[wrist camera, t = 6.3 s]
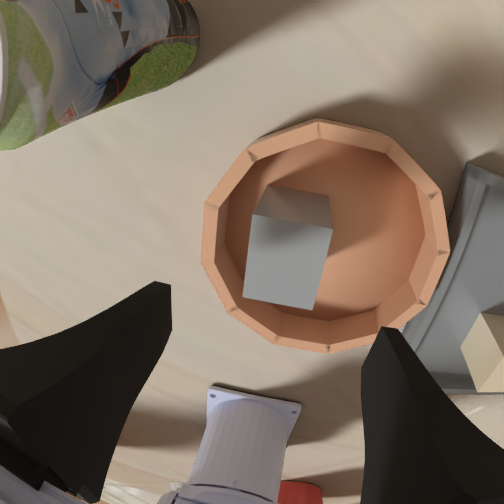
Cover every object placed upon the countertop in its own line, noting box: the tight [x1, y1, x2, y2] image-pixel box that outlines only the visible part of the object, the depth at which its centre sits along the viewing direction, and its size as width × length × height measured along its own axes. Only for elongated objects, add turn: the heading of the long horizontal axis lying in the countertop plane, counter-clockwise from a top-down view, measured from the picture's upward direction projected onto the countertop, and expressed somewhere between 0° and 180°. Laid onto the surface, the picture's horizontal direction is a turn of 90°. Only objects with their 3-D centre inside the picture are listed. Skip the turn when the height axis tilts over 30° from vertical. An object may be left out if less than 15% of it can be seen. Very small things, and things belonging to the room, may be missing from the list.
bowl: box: [201, 118, 450, 354], centre depth 17 cm, size 12×12×3 cm
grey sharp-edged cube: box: [242, 185, 333, 310], centre depth 15 cm, size 4×3×4 cm
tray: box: [402, 162, 504, 395], centre depth 17 cm, size 16×13×2 cm
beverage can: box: [0, 0, 200, 150], centre depth 9 cm, size 6×7×12 cm
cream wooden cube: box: [460, 312, 504, 392], centre depth 16 cm, size 4×3×4 cm
